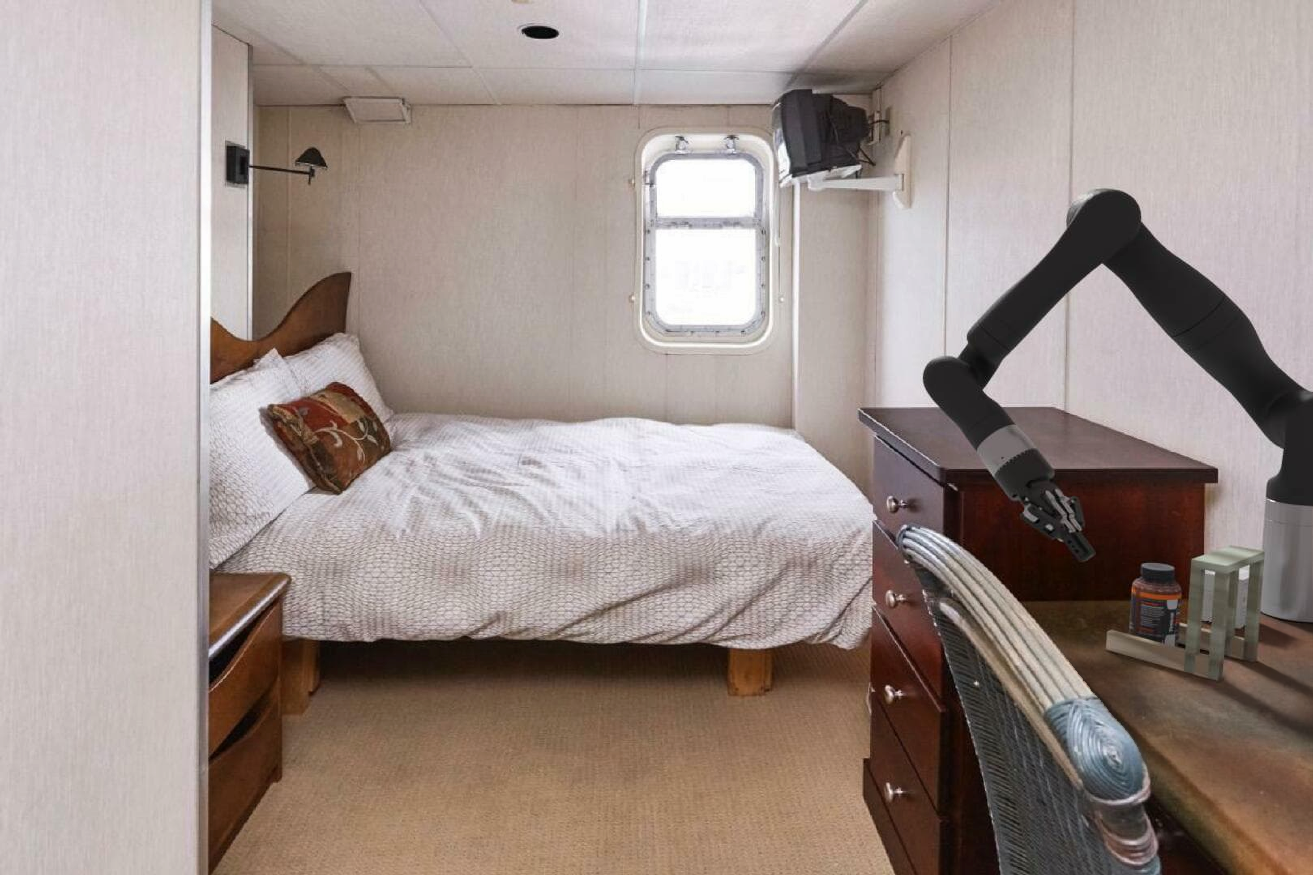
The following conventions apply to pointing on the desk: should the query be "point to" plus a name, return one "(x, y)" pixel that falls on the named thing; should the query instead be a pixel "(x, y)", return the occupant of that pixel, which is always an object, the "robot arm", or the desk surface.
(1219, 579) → the channel
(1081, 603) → the desk surface
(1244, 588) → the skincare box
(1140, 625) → the supplement bottle
